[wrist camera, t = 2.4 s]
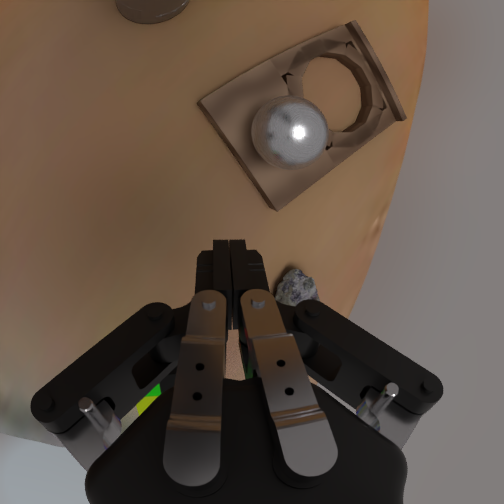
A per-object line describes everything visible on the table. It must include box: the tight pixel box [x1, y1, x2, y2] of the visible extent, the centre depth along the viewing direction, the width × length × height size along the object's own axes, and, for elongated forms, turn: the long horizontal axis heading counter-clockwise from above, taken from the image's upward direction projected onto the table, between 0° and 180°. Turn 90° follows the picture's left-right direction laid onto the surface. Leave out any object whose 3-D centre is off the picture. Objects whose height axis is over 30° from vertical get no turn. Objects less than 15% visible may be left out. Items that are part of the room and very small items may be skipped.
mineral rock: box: [274, 269, 320, 306], centre depth 41 cm, size 13×11×10 cm
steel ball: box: [251, 95, 329, 170], centre depth 29 cm, size 8×8×8 cm
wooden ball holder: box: [197, 20, 407, 212], centre depth 34 cm, size 16×24×4 cm, turn 124°
